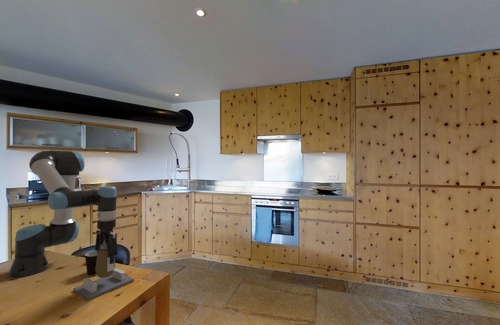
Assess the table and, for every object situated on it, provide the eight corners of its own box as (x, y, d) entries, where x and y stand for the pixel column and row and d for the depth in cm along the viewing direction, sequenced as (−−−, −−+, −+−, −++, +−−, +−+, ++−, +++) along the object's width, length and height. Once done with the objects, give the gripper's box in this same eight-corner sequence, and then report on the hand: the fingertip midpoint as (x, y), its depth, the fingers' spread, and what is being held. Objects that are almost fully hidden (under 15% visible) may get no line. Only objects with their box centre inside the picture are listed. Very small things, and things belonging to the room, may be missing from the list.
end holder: (73, 291, 106) (73, 280, 106) (117, 274, 123) (118, 265, 123) (88, 300, 99) (89, 289, 99) (133, 281, 116) (134, 271, 116)
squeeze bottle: (119, 273, 113) (119, 235, 113) (102, 280, 105) (103, 240, 106) (107, 270, 116) (108, 233, 117) (91, 277, 109) (92, 237, 109)
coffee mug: (94, 276, 120) (95, 256, 120) (80, 275, 121) (80, 255, 122) (112, 267, 131) (112, 249, 131) (98, 266, 133) (99, 248, 133)
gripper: (87, 218, 114) (85, 266, 113) (110, 223, 103) (109, 276, 102) (103, 215, 120) (102, 261, 120) (127, 220, 109) (126, 270, 109)
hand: (105, 268), depth 111 cm, fingers closed on squeeze bottle, 8 cm apart
